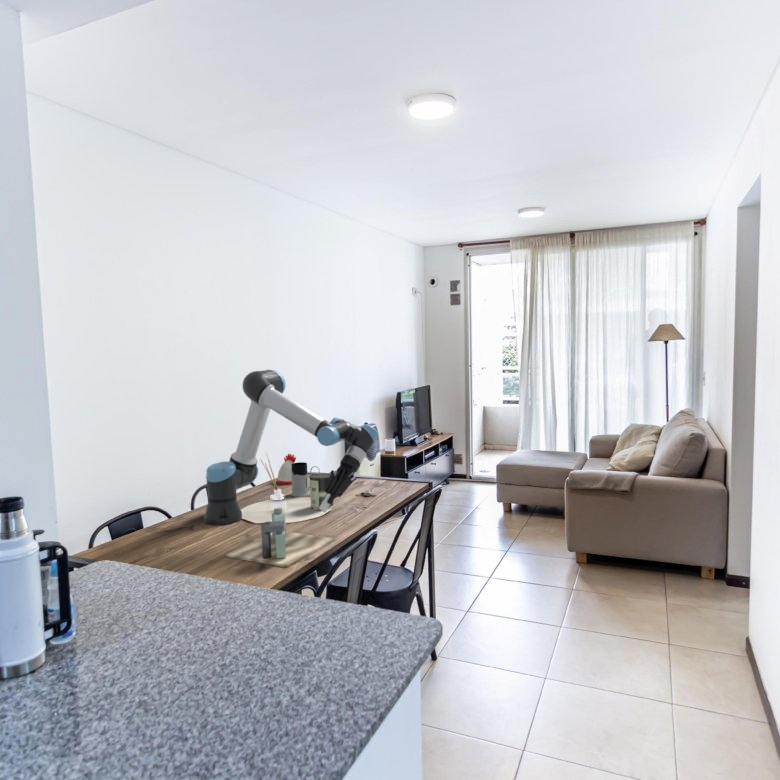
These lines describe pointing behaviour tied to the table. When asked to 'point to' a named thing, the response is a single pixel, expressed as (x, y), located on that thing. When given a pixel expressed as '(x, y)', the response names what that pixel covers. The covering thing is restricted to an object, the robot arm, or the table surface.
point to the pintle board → (295, 548)
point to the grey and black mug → (300, 479)
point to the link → (280, 535)
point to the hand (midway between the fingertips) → (322, 510)
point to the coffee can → (318, 489)
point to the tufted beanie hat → (286, 470)
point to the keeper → (269, 536)
